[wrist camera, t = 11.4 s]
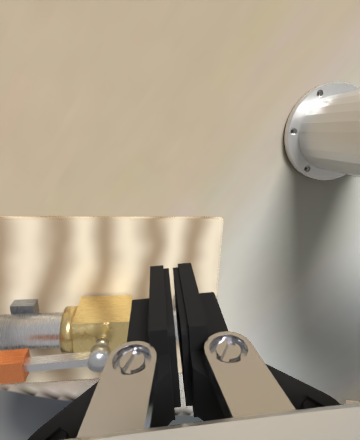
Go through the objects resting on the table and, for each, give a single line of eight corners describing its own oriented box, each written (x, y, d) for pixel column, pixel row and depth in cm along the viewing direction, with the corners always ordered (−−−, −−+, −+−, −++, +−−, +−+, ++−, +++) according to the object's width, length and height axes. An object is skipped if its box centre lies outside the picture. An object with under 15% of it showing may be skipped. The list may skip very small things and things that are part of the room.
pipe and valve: (204, 290, 43) (216, 323, 35) (201, 325, 44) (213, 363, 37) (-14, 297, 39) (-50, 335, 32) (-7, 334, 41) (-40, 379, 33)
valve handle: (-28, 353, 32) (-39, 368, 30) (110, 341, 34) (107, 354, 32) (-23, 371, 33) (-34, 387, 31) (111, 358, 35) (109, 373, 33)
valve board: (220, 216, 41) (223, 220, 40) (208, 363, 49) (210, 370, 47) (-38, 216, 37) (-45, 219, 35) (-7, 377, 44) (-12, 385, 43)
